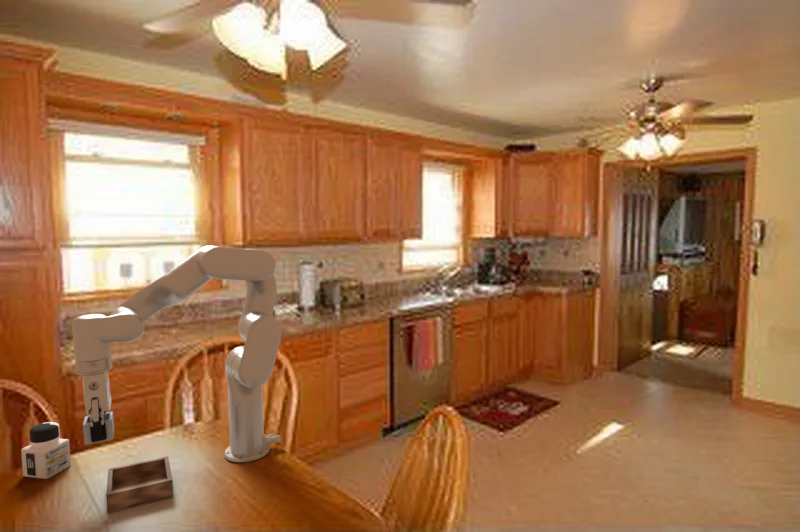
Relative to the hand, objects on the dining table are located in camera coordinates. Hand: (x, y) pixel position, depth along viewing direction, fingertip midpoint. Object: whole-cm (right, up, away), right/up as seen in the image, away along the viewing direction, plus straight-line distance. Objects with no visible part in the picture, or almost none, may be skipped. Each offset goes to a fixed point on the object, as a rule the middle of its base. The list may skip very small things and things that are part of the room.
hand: (100, 434), depth 123 cm
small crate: (0, -1, 0) cm, 1 cm away
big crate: (+9, -15, +1) cm, 18 cm away
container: (-22, -14, +12) cm, 28 cm away
